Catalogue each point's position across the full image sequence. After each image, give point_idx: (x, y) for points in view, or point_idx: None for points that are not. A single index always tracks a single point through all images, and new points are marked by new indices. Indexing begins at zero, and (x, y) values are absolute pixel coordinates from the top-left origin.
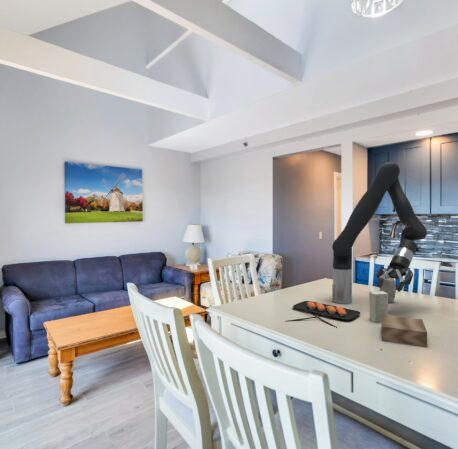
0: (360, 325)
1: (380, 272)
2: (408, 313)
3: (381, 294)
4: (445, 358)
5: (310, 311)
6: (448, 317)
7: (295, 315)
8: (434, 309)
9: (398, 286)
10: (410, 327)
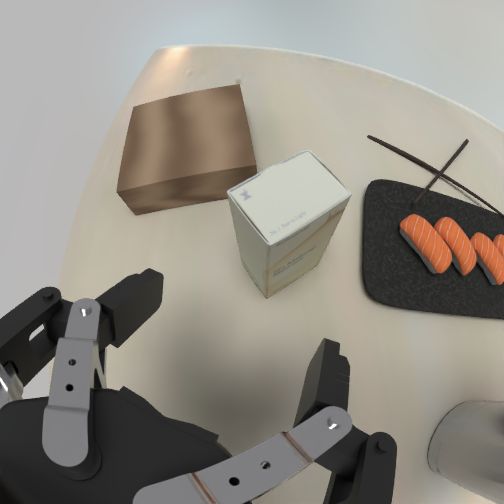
0: None
1: (359, 494)
2: None
3: (266, 171)
4: (128, 108)
5: (480, 207)
6: None
7: (486, 185)
8: None
9: (140, 280)
10: (165, 110)
